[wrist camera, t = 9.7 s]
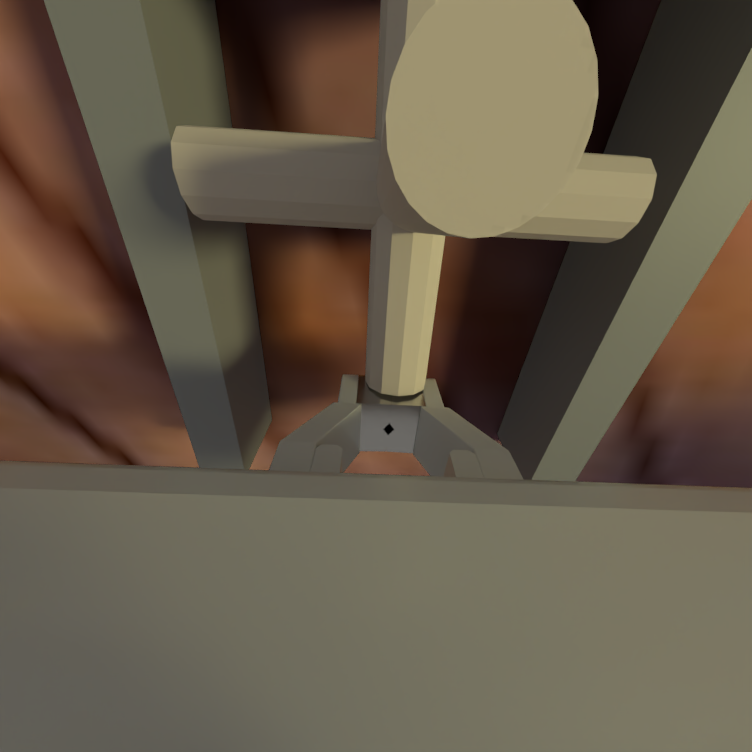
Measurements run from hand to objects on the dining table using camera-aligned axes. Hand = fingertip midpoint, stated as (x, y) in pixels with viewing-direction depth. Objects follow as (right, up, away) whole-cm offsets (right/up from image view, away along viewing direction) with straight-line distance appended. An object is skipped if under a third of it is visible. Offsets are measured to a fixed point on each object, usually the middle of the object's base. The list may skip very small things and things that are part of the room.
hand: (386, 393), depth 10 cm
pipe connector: (0, +7, +2) cm, 7 cm away
